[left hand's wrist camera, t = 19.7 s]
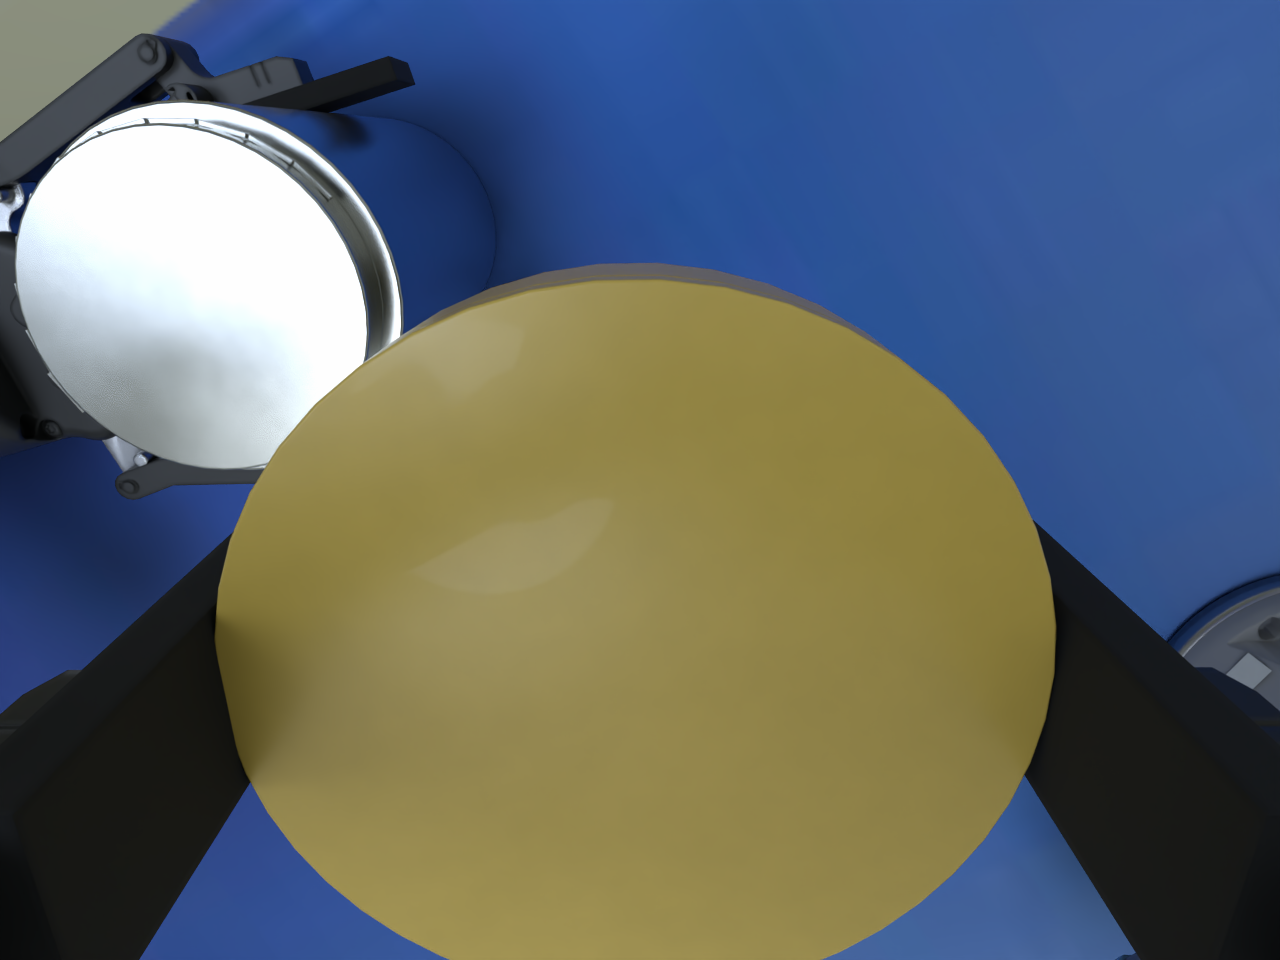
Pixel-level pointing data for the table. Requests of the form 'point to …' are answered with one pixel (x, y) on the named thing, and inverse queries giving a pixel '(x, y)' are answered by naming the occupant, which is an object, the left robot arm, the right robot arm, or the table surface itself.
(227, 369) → the jar
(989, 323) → the table surface
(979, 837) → the lid
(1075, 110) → the table surface
